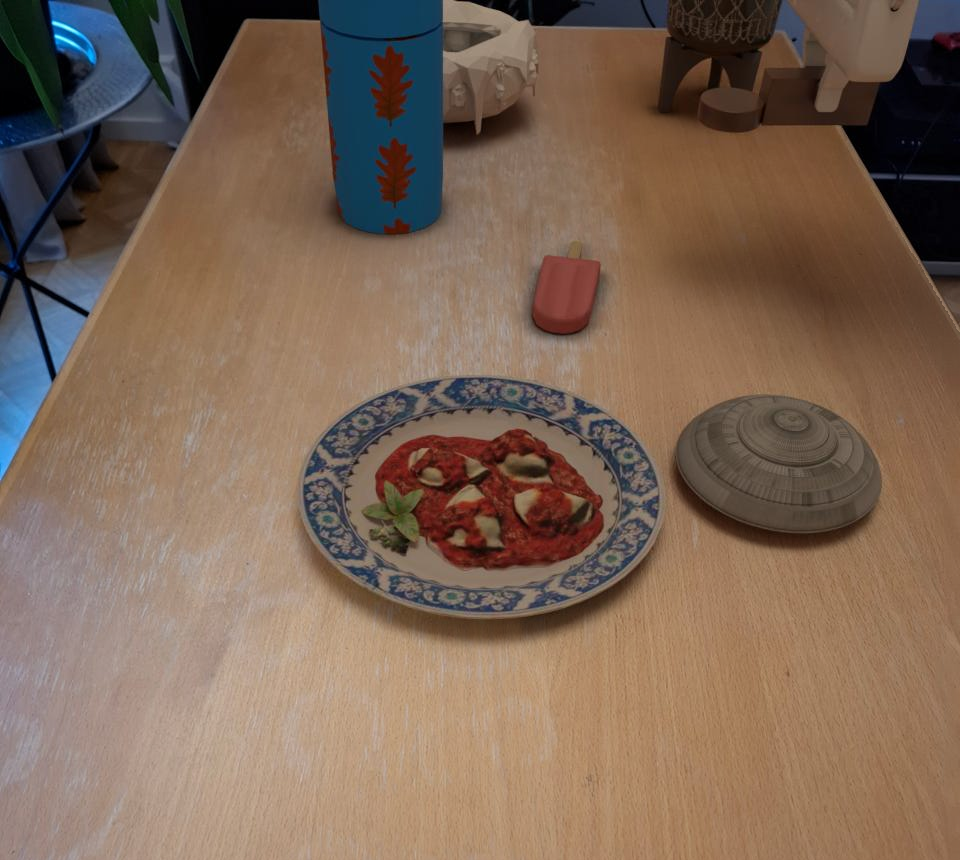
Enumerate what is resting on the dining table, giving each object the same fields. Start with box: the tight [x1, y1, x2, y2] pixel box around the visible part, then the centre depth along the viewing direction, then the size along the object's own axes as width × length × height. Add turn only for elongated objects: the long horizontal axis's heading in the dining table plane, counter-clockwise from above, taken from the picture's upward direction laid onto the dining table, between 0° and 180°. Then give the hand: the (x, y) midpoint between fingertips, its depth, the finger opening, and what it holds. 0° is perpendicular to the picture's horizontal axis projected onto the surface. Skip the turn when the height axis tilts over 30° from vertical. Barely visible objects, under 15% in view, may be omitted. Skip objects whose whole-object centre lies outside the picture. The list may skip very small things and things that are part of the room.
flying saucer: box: [675, 393, 883, 534], centre depth 72 cm, size 15×15×6 cm
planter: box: [657, 0, 784, 113], centre depth 112 cm, size 13×13×18 cm
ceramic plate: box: [296, 374, 667, 620], centre depth 70 cm, size 26×26×3 cm
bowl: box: [443, 0, 540, 135], centre depth 112 cm, size 21×20×10 cm
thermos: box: [317, 0, 444, 235], centre depth 91 cm, size 11×11×25 cm
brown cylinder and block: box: [696, 67, 881, 134], centre depth 82 cm, size 14×5×4 cm, turn 94°
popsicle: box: [531, 240, 602, 335], centre depth 90 cm, size 5×2×15 cm
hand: (816, 99), depth 82 cm, fingers closed on brown cylinder and block, 2 cm apart
